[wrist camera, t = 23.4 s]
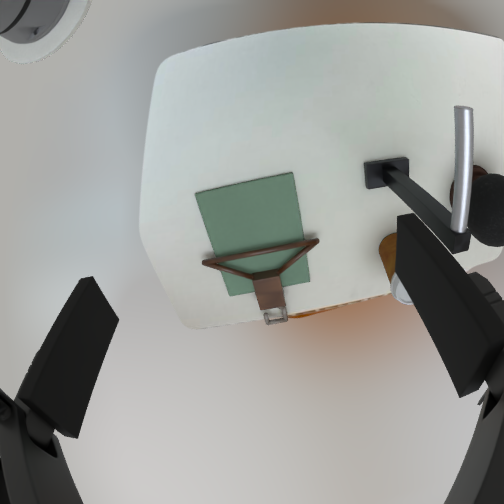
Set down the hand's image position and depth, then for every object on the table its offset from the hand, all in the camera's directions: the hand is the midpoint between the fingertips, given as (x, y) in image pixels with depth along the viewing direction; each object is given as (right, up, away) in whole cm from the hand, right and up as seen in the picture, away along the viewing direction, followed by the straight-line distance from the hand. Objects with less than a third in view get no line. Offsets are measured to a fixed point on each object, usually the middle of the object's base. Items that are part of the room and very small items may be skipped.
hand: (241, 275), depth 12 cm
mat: (+1, +3, +42) cm, 42 cm away
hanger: (+2, +1, +41) cm, 41 cm away
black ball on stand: (+44, +13, +36) cm, 58 cm away
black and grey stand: (+22, +19, +31) cm, 43 cm away
